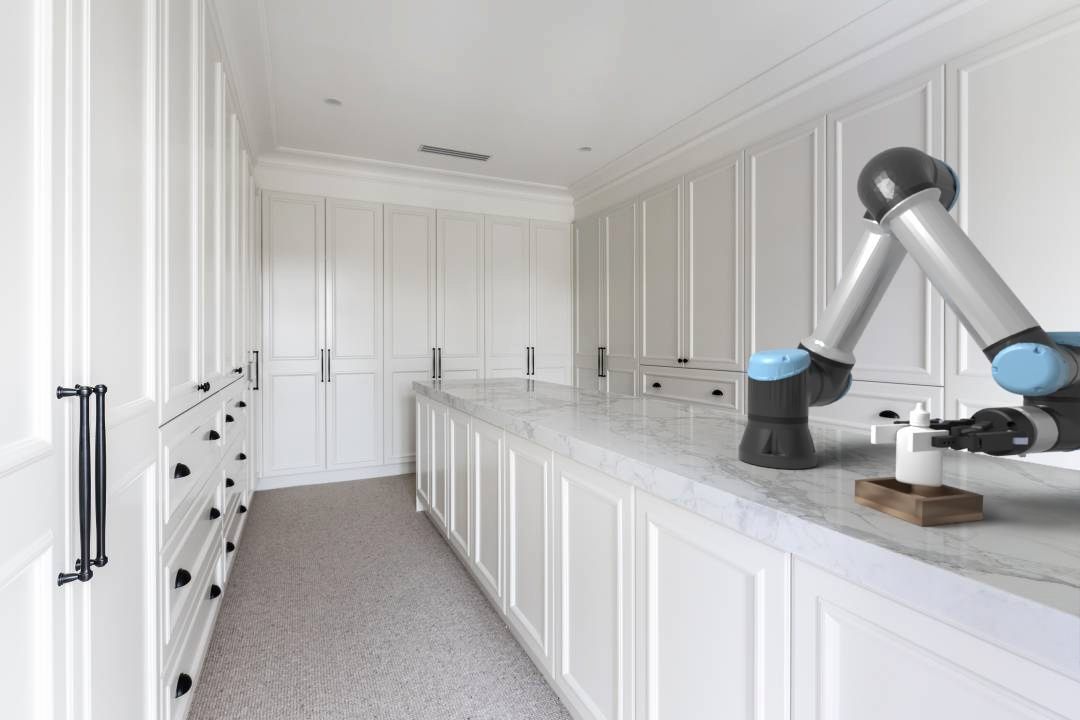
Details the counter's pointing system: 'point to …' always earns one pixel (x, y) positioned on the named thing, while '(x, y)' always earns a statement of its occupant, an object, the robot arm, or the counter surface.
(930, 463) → the eye dropper bottle
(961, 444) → the robot arm
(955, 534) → the counter surface
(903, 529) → the counter surface
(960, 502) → the walnut socket block
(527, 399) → the counter surface
